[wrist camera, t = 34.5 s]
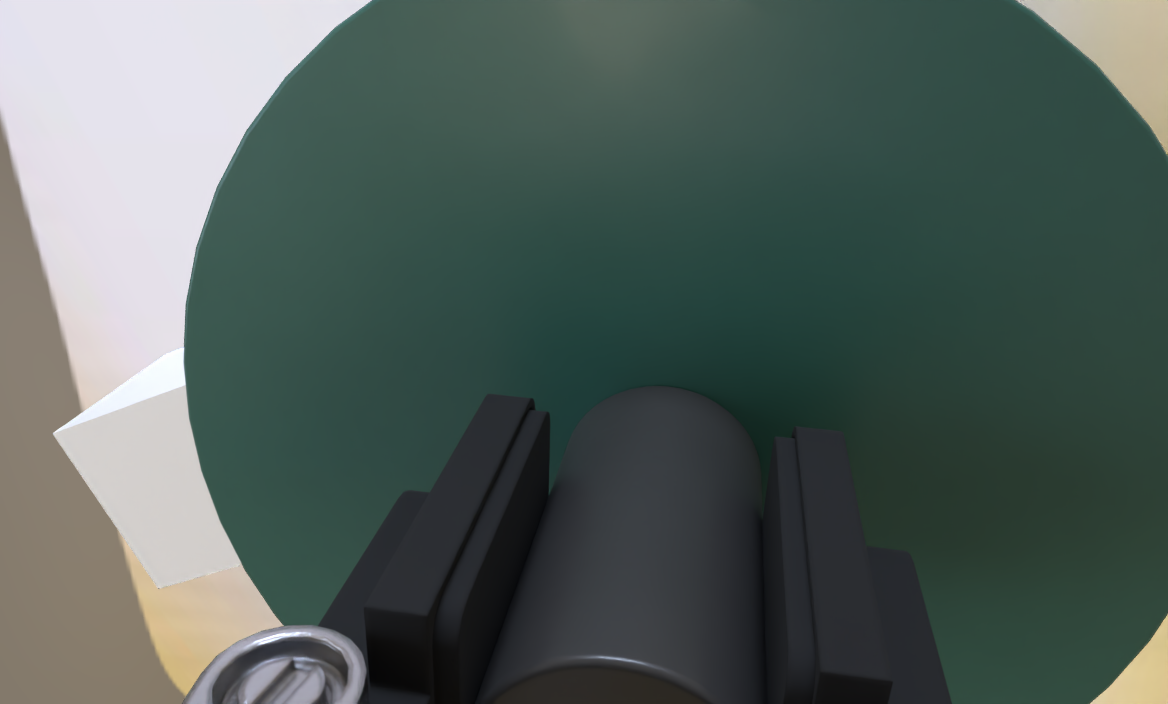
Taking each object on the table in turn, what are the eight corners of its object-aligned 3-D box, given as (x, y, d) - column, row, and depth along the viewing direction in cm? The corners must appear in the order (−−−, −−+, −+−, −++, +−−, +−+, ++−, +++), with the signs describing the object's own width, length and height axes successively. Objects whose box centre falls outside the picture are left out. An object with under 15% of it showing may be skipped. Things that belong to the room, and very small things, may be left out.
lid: (1365, -75, 10) (2254, -106, 4) (1050, 832, 15) (1230, 1353, 9) (159, -111, 11) (-414, -165, 6) (276, 711, 17) (44, 1089, 11)
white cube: (302, 300, 31) (209, 375, 26) (382, 447, 33) (311, 545, 28) (165, 353, 33) (51, 434, 27) (249, 489, 35) (157, 590, 29)
